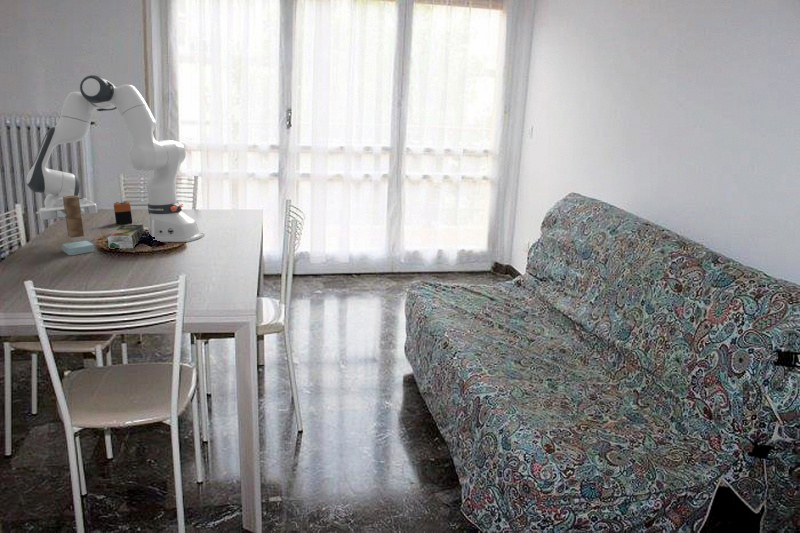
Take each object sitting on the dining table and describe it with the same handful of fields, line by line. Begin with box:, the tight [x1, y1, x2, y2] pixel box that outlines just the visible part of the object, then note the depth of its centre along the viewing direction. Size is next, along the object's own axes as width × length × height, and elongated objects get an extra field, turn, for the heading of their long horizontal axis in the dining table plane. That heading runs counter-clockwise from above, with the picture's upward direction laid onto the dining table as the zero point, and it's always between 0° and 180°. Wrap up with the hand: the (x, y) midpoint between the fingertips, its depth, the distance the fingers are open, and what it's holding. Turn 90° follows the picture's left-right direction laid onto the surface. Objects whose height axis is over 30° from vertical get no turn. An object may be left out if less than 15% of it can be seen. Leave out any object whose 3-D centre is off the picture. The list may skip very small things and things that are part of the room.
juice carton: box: [107, 224, 145, 249], centre depth 273 cm, size 20×10×6 cm, turn 7°
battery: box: [113, 200, 133, 225], centre depth 309 cm, size 4×7×10 cm, turn 114°
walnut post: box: [63, 195, 85, 239], centre depth 260 cm, size 4×4×15 cm
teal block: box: [61, 240, 96, 256], centre depth 263 cm, size 9×9×3 cm
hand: (73, 214), depth 259 cm, fingers closed on walnut post, 4 cm apart
